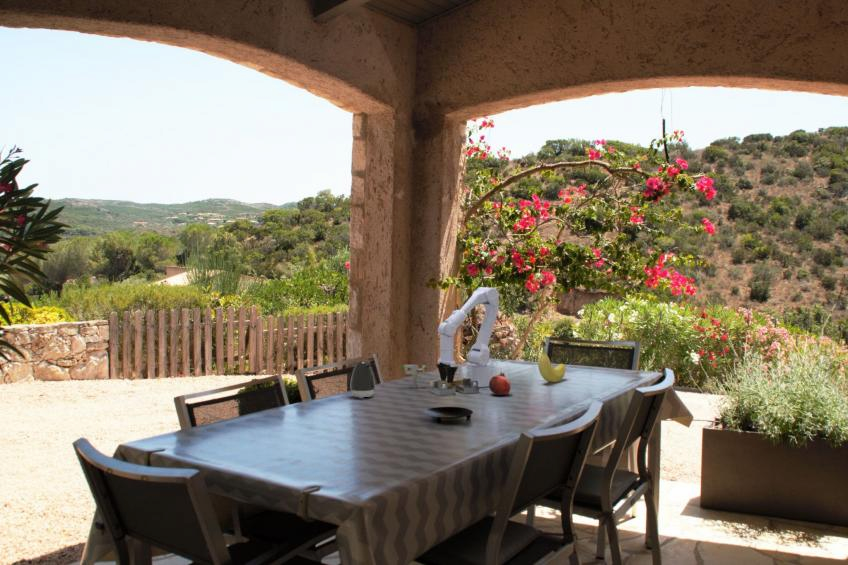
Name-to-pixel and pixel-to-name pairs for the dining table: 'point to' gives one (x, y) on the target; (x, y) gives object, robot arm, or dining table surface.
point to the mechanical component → (413, 372)
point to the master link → (455, 382)
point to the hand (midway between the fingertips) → (446, 381)
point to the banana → (550, 368)
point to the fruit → (499, 384)
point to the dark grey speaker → (362, 380)
